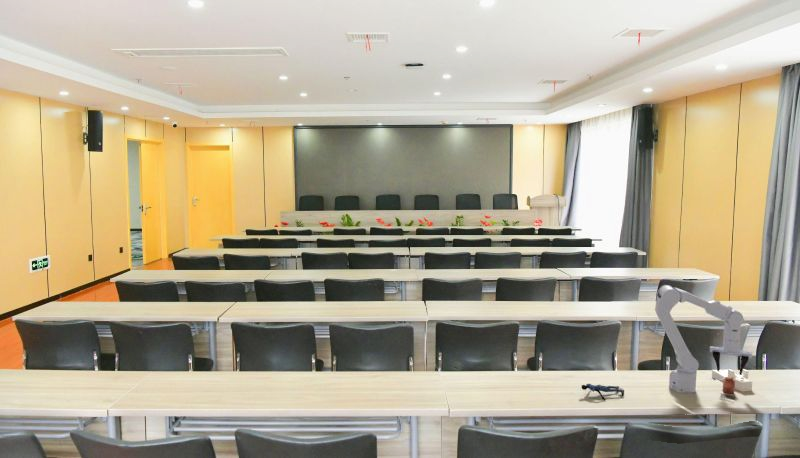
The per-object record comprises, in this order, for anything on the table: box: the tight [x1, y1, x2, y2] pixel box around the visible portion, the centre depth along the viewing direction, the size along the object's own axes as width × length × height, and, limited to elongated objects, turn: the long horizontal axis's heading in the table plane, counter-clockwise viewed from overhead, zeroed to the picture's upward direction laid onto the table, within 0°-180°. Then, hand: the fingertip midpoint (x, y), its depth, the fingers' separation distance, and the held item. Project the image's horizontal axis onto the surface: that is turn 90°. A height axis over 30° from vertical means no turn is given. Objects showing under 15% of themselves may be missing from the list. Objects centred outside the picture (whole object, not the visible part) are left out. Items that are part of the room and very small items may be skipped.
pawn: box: [722, 377, 735, 394], centre depth 224 cm, size 4×4×6 cm
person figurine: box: [581, 383, 625, 401], centre depth 223 cm, size 11×4×18 cm
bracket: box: [711, 368, 749, 382], centre depth 237 cm, size 13×7×8 cm, turn 3°
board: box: [718, 388, 736, 405], centre depth 220 cm, size 15×6×1 cm, turn 147°
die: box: [733, 377, 753, 392], centre depth 228 cm, size 5×5×5 cm
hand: (729, 372), depth 223 cm, fingers open, 7 cm apart
